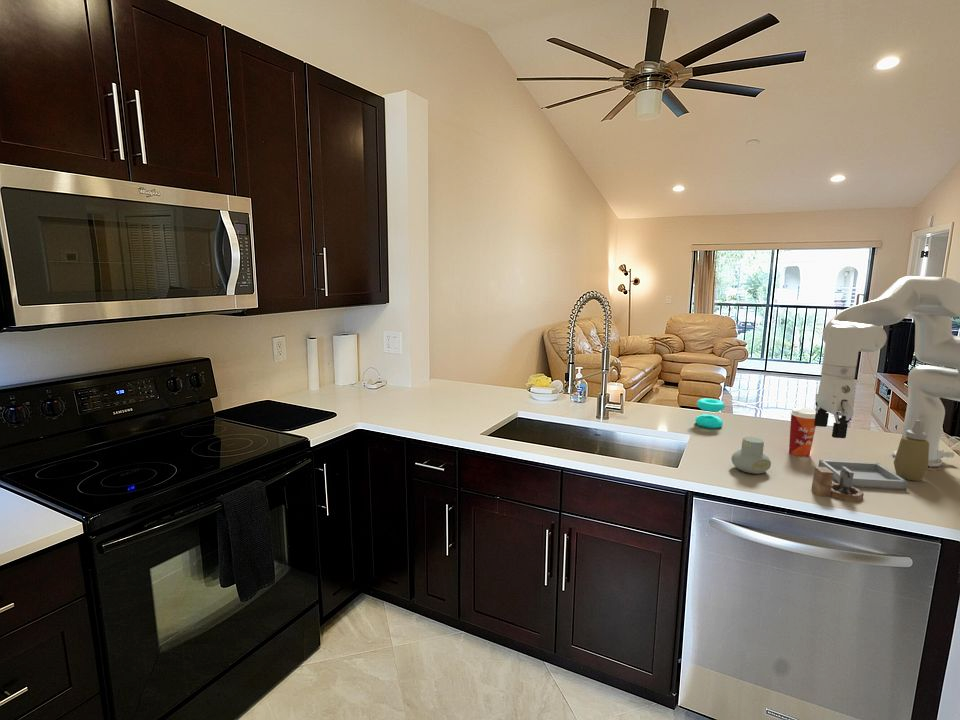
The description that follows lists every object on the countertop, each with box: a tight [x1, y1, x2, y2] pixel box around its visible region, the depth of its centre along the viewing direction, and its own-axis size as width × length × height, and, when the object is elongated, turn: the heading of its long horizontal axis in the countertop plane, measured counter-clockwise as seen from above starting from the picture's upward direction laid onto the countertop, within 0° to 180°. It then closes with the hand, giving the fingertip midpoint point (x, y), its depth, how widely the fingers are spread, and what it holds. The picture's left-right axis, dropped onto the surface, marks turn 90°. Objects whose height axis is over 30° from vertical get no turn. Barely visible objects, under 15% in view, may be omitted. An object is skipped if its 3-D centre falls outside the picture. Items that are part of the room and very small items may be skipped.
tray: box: [817, 459, 909, 491], centre depth 156 cm, size 17×14×2 cm
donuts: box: [695, 397, 726, 429], centre depth 204 cm, size 10×10×10 cm
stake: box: [837, 466, 854, 494], centre depth 145 cm, size 3×4×7 cm
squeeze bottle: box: [893, 420, 929, 482], centre depth 156 cm, size 8×8×18 cm
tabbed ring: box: [811, 466, 864, 502], centre depth 145 cm, size 12×8×7 cm
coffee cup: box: [788, 407, 817, 457], centre depth 175 cm, size 8×8×15 cm
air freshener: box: [731, 436, 772, 475], centre depth 161 cm, size 11×8×10 cm
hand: (829, 431), depth 143 cm, fingers open, 9 cm apart
